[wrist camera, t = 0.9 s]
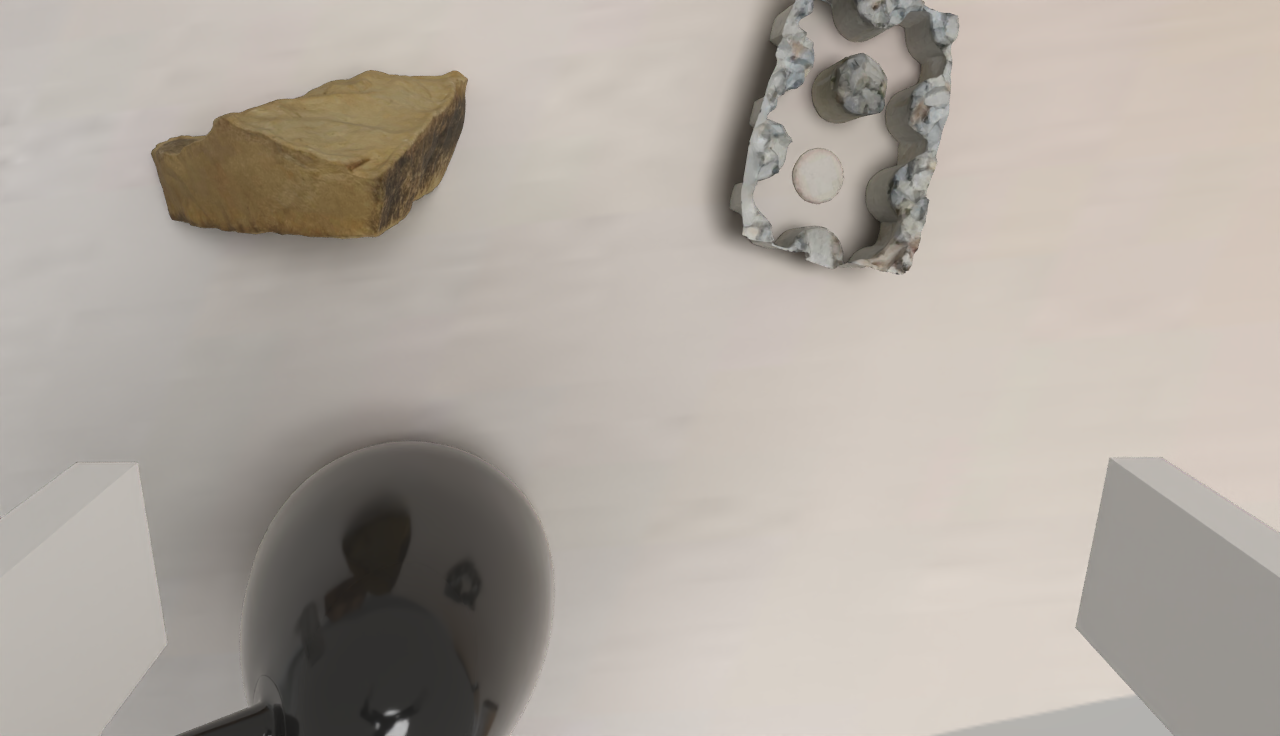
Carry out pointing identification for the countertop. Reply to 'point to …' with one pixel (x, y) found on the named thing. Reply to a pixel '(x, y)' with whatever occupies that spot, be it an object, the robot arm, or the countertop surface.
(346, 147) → the rock
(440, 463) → the pump dispenser
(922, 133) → the egg carton
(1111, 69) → the countertop surface
